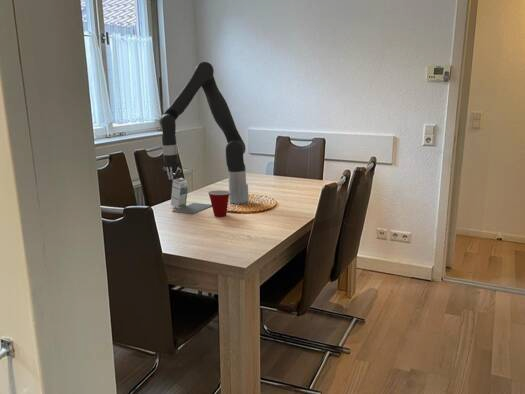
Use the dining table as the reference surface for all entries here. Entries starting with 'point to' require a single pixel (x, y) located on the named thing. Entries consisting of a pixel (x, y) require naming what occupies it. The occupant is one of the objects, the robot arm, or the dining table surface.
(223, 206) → the plastic cup
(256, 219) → the dining table surface
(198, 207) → the charcoal placemat
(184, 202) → the syrup box
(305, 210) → the dining table surface
